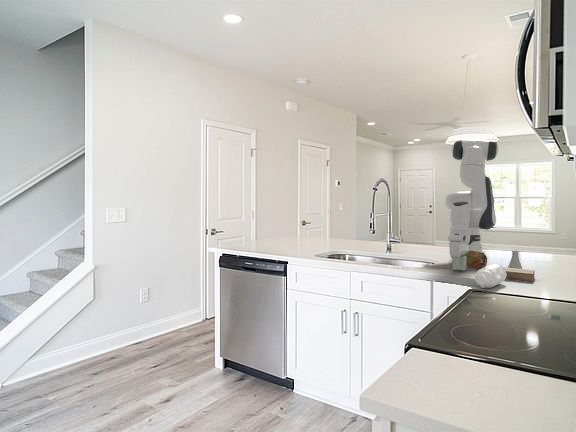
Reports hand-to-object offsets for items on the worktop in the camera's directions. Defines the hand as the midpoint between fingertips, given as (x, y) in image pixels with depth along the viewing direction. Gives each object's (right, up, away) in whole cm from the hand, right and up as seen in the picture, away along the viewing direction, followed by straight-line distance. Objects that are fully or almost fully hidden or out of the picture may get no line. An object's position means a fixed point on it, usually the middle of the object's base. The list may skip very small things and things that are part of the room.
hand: (459, 264), depth 182 cm
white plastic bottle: (-2, -5, -32) cm, 33 cm away
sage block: (0, -2, 0) cm, 2 cm away
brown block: (+17, -4, -17) cm, 25 cm away
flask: (+26, -4, -1) cm, 26 cm away
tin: (+12, -3, +10) cm, 16 cm away
